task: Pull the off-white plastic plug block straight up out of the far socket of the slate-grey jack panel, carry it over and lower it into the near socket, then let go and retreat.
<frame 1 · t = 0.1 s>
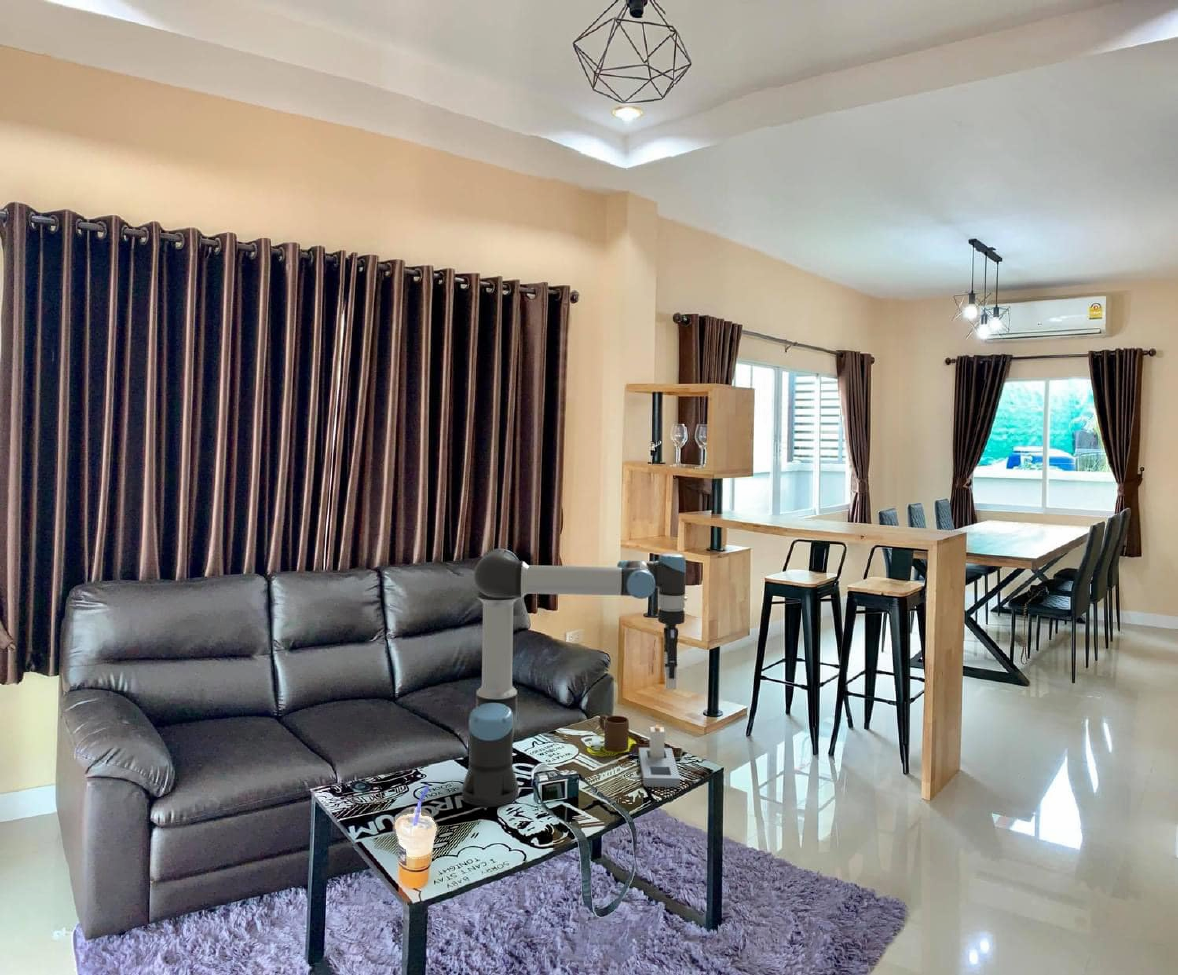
hand: (669, 682, 231), 28 cm above the table, fingers open, 13 cm apart
mug: (611, 747, 255), on the table
panel: (658, 772, 236), on the table
plug: (656, 762, 242), point 1 cm above the table, touching panel
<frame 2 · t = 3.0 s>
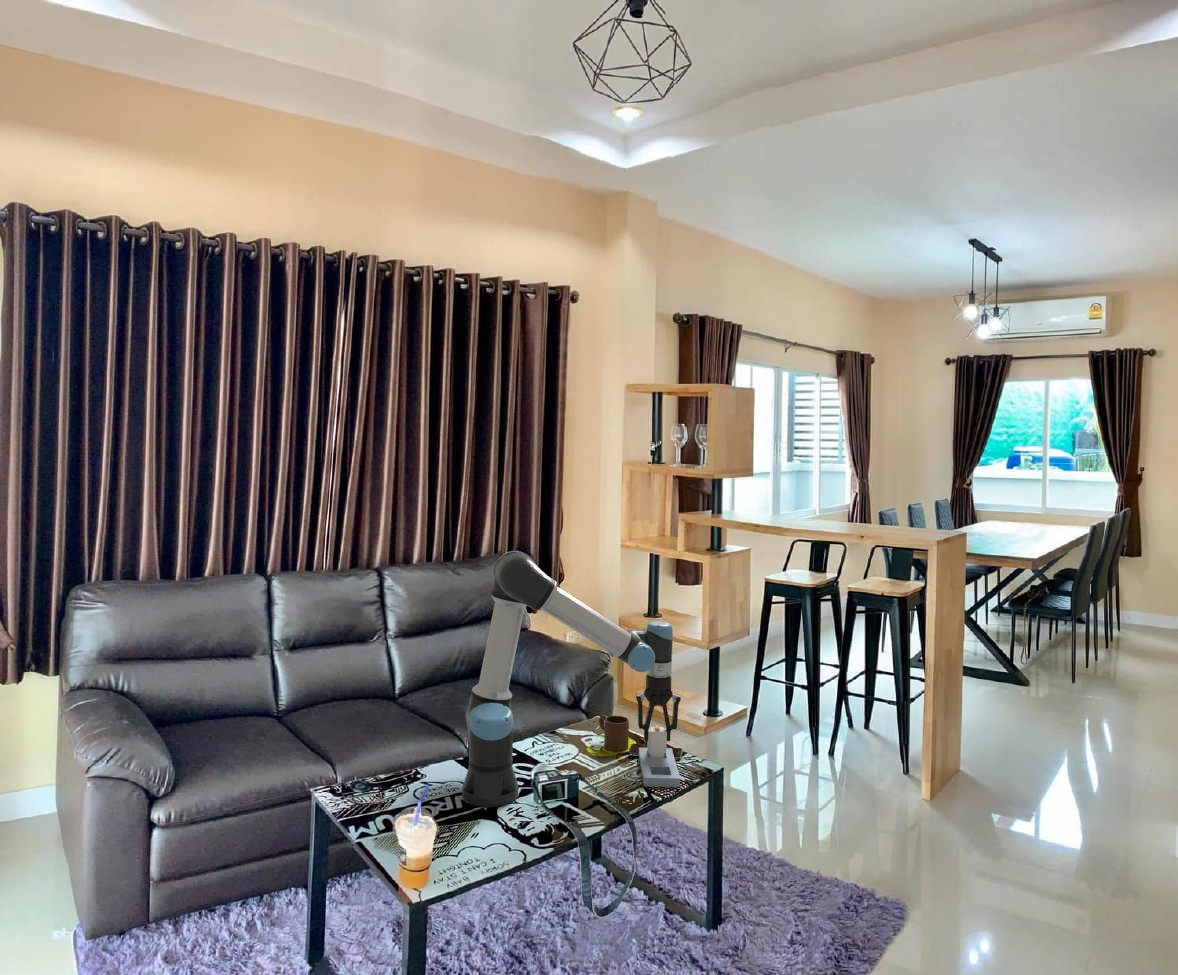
hand: (656, 751, 241), 4 cm above the table, fingers closed on plug, 4 cm apart
plug: (656, 762, 242), point 1 cm above the table, touching gripper, panel
everything else where it was.
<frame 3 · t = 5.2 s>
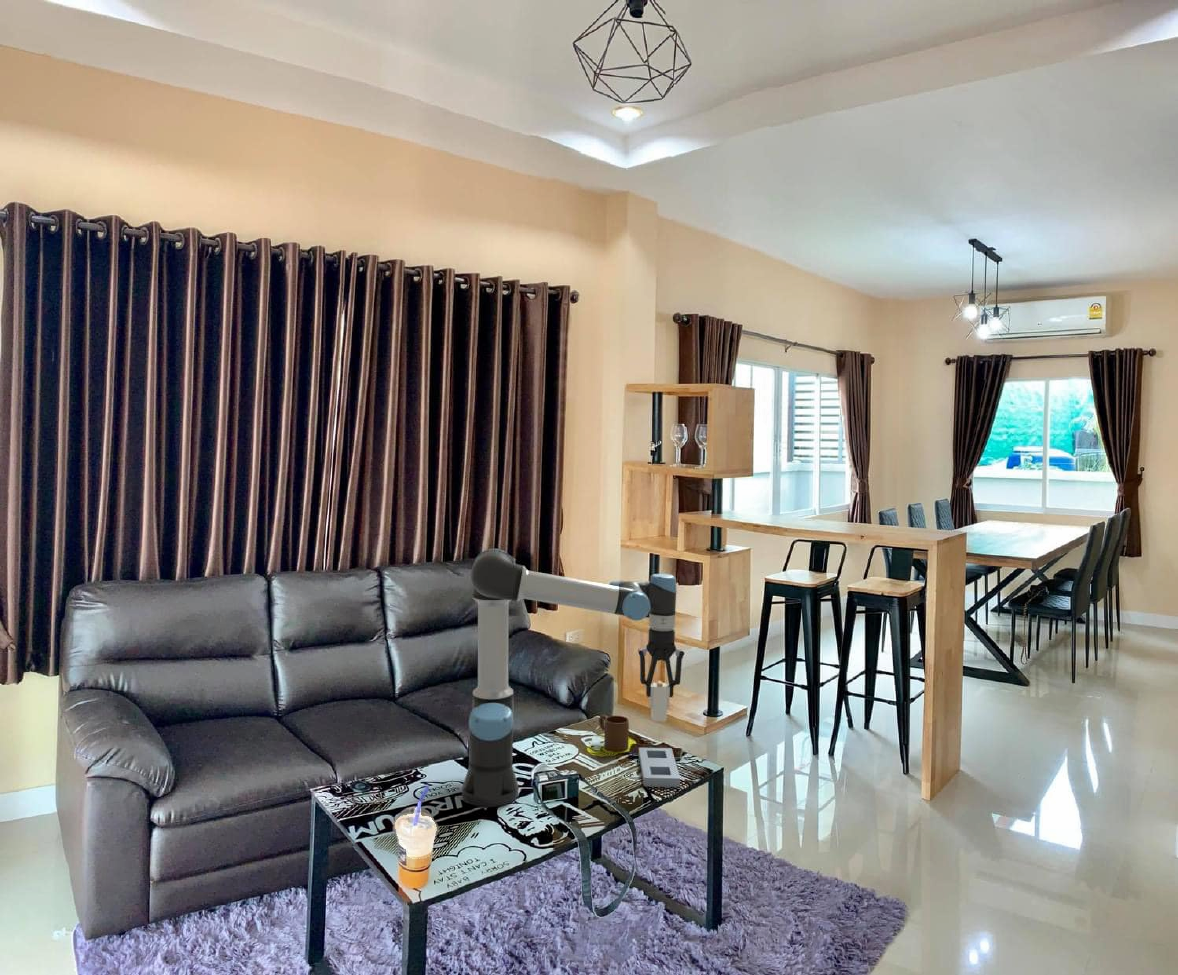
hand: (659, 707, 234), 19 cm above the table, fingers closed on plug, 4 cm apart
plug: (658, 718, 235), point 16 cm above the table, touching gripper
everything else where it was.
when the fingers open (5 cm above the table, at t = 7.6 s): plug drops 1 cm, resting on panel.
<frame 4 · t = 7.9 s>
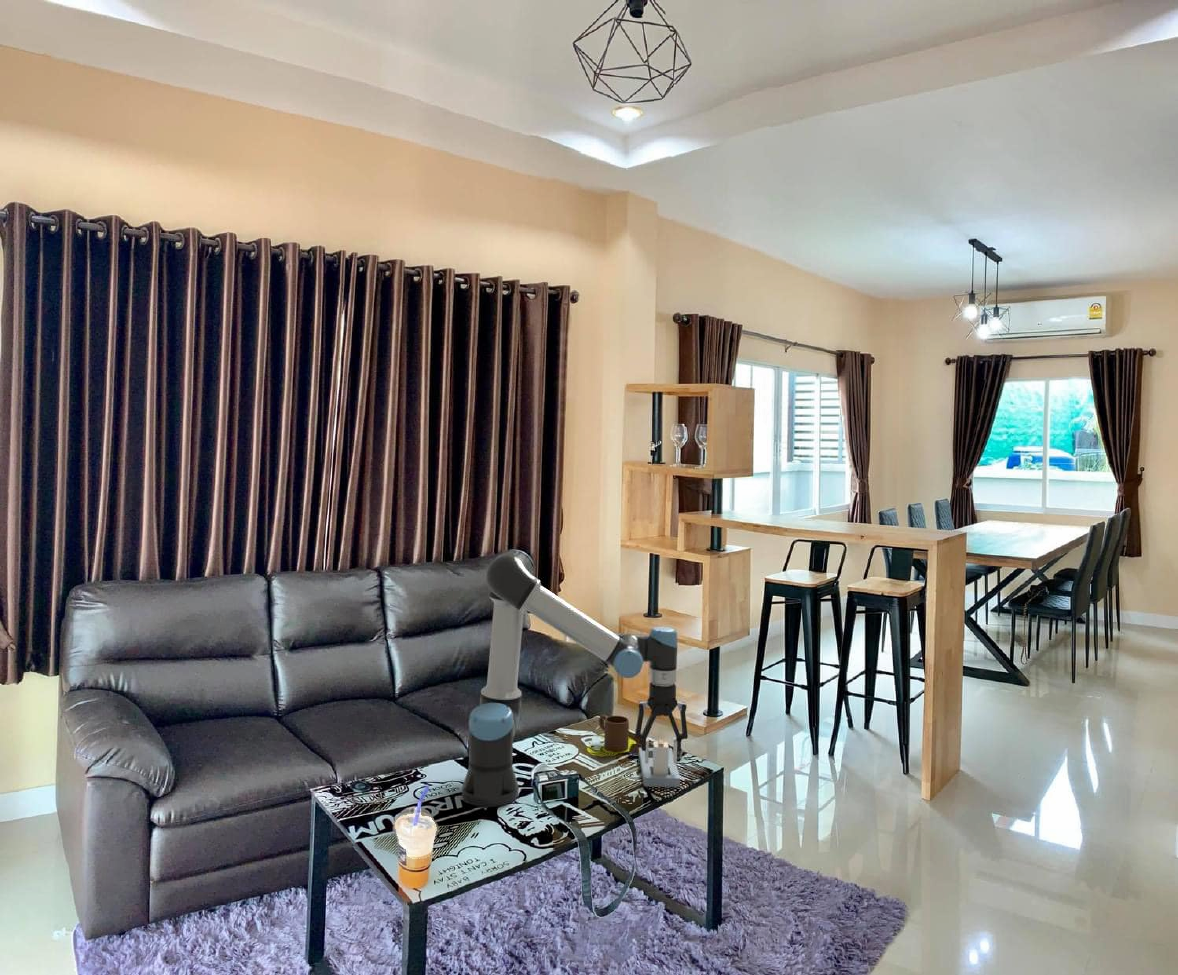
hand: (660, 761, 229), 6 cm above the table, fingers open, 7 cm apart
plug: (660, 778, 230), point 1 cm above the table, touching panel
everything else where it was.
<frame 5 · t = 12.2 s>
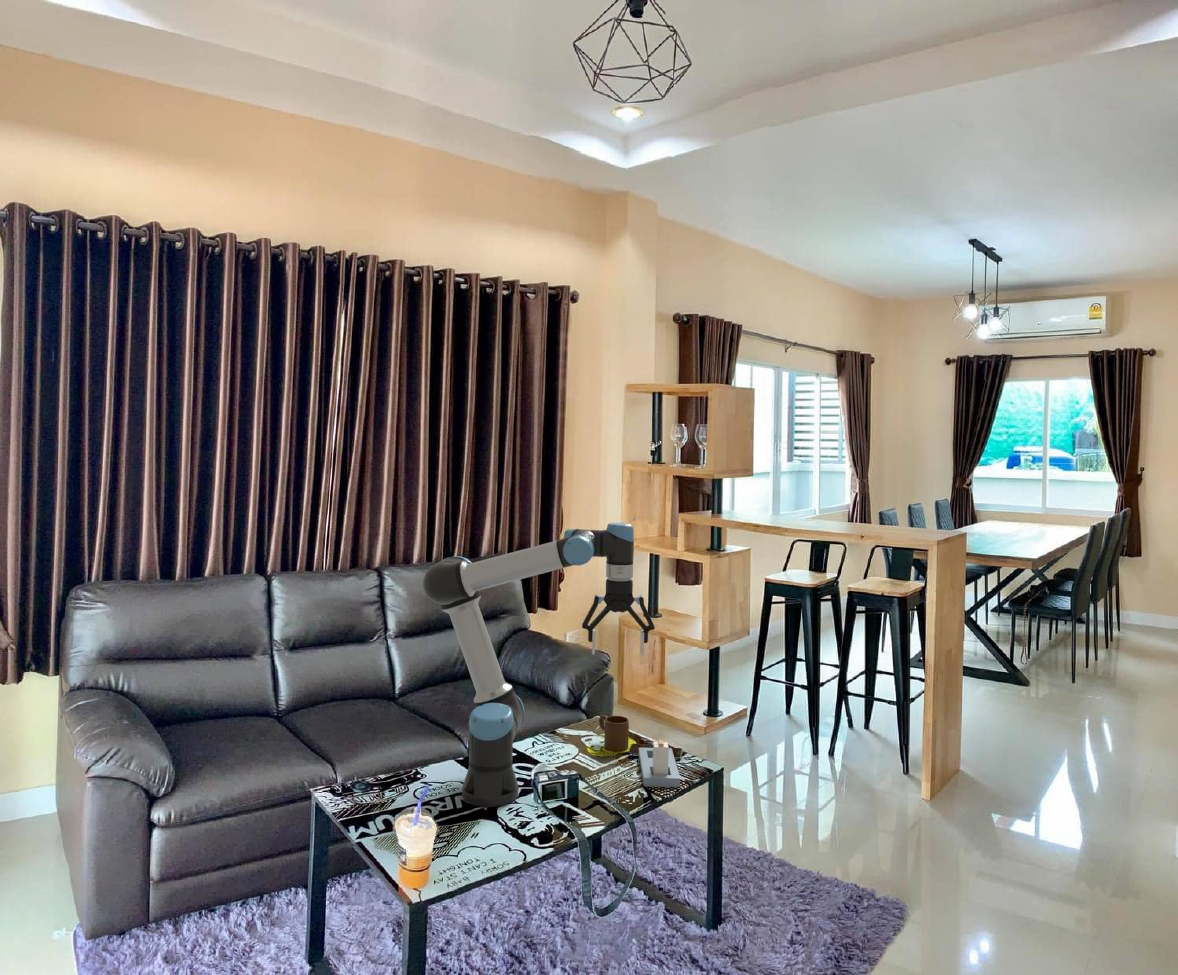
hand: (617, 653, 226), 37 cm above the table, fingers open, 13 cm apart
nothing on the table moved.
at the end: plug 0.1 cm from the target spot on the panel, point 0.6 cm above the panel's base; plug tilted 0°; the gripper is holding nothing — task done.
